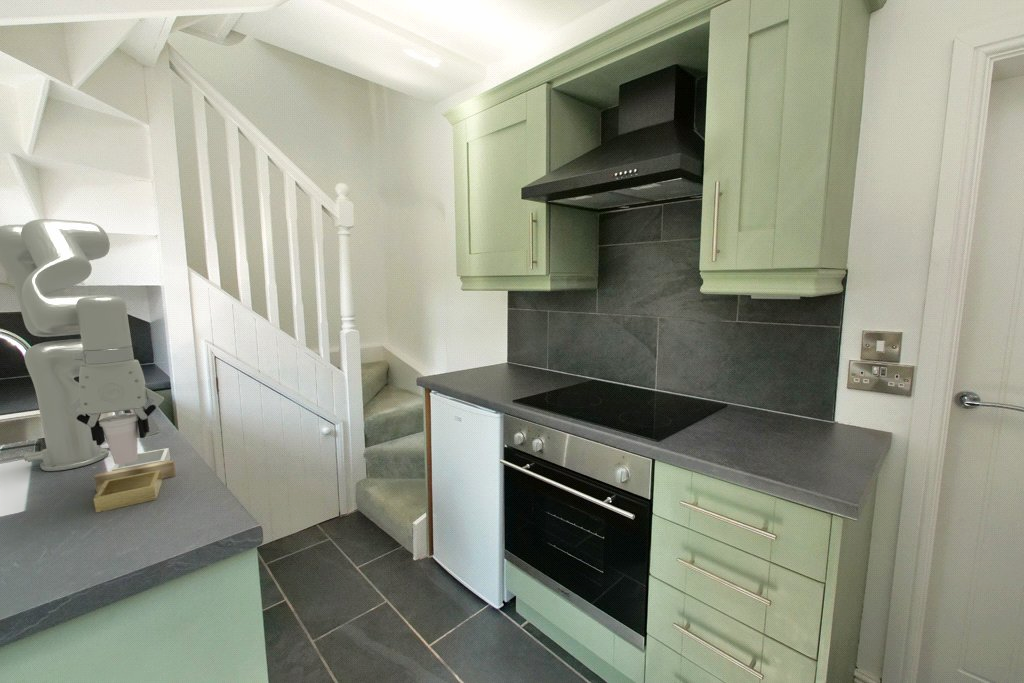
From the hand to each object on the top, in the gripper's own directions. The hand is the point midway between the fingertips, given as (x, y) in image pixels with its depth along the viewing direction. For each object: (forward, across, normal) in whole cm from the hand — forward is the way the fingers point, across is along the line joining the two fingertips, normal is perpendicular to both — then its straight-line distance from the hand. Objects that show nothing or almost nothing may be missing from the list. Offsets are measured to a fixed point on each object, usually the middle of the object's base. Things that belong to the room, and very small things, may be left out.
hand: (122, 438), depth 94 cm
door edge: (+13, 0, +8) cm, 15 cm away
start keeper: (+13, 0, +16) cm, 21 cm away
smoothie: (+5, 0, 0) cm, 5 cm away
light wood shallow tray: (+13, 0, 0) cm, 13 cm away
